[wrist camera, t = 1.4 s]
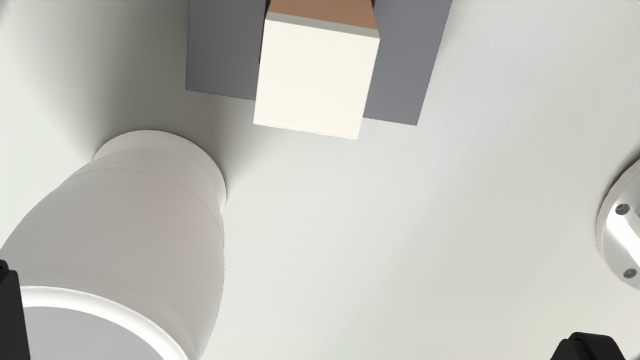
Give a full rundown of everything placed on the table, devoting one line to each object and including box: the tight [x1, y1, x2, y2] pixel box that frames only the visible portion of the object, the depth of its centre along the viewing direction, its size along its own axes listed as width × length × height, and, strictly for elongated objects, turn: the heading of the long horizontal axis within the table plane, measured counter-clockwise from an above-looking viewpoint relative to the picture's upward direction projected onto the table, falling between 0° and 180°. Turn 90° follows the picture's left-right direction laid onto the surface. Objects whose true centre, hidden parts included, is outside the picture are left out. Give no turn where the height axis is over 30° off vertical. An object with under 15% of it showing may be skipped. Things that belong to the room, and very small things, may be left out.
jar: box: [0, 130, 226, 360], centre depth 30 cm, size 11×10×15 cm
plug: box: [253, 0, 380, 140], centre depth 25 cm, size 4×4×10 cm
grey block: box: [185, 0, 452, 126], centre depth 29 cm, size 12×9×4 cm
